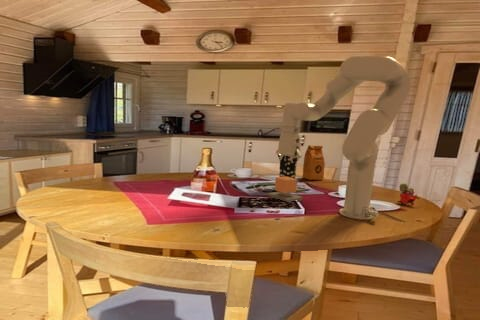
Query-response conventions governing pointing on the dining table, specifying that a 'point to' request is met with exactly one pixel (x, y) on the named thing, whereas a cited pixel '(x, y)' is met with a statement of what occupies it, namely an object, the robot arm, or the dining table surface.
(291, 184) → the orange cube
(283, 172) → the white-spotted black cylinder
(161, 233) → the dining table surface
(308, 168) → the coffee package
